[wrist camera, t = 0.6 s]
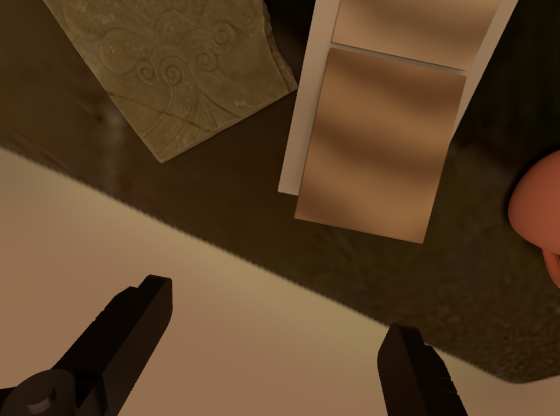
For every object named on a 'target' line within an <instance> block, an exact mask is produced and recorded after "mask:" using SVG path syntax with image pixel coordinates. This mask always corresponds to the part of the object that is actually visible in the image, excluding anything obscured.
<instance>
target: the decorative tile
mask: <svg viewBox="0 0 560 416" xmlns="http://www.w3.org/2000/svg"><path fill="white" fill-rule="evenodd" d="M43 1H44V2H45V4H46V5H47V7H48V8H49V9H50V11H51V12H52V14H53V15H54V17H55V18H56V20H57V21H58V23H59V24H60V26H61V27H62V29H63V30H64V32H65V33H66V35H67V36H68V38H69V39H70V41H71V42H72V44H73V45H74V47H75V48H76V50H77V51H78V52H79V54H80V55H81V57H82V58H83V59H84V61H85V62H86V64H87V65H88V66H89V68H90V69H91V71H92V72H93V73H94V75H95V76H96V78H97V79H98V80H99V82H100V83H101V85H102V86H103V87H104V89H105V90H106V91H107V93H108V95H109V97H110V98H111V99H112V101H113V102H114V103H115V105H116V106H117V108H118V109H119V110H120V111H121V113H122V114H123V115H124V117H125V118H126V119H127V121H128V122H129V123H130V125H131V126H132V127H133V129H134V130H135V132H136V133H137V134H138V136H139V137H140V138H141V139H142V141H143V142H144V143H145V145H146V146H147V147H148V148H149V150H150V151H151V152H152V154H153V155H154V156H155V158H156V159H157V160H158V161H159V162H160V163H164V162H166V161H168V160H169V159H172V158H173V157H175V156H177V155H179V154H181V153H183V152H185V151H187V150H188V149H190V148H192V147H194V146H196V145H198V144H200V143H202V142H204V141H205V140H207V139H209V138H210V137H212V136H214V135H216V134H217V133H219V132H221V131H222V130H224V129H226V128H228V127H230V126H232V125H234V124H236V123H238V122H240V121H241V120H243V119H245V118H247V117H249V116H250V115H252V114H254V113H256V112H257V111H259V110H261V109H263V108H264V107H266V106H268V105H270V104H272V103H273V102H275V101H277V100H279V99H281V98H282V97H284V96H286V95H287V94H289V93H291V92H293V91H294V90H296V89H297V88H298V85H297V82H296V80H295V77H294V74H293V73H292V70H291V68H290V66H289V65H288V64H287V62H286V61H285V59H284V58H283V57H282V55H281V54H280V53H279V52H278V48H277V46H276V44H275V38H274V36H273V33H272V28H271V22H270V19H271V17H270V14H269V12H268V10H267V5H266V4H265V3H264V0H43Z"/></svg>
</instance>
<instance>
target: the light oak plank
mask: <svg viewBox="0 0 560 416" xmlns="http://www.w3.org/2000/svg"><path fill="white" fill-rule="evenodd" d="M500 2H501V0H340V4H339V8H338V12H337V17H336V21H335V25H334V29H333V34H332V38H331V42H330V43H334V44H339V45H344V46H348V47H353V48H358V49H362V50H367V51H372V52H377V53H381V54H386V55H391V56H395V57H400V58H405V59H410V60H414V61H419V62H424V63H428V64H433V65H438V66H443V67H447V68H452V69H457V70H462V71H469V70H470V68H471V66H472V64H473V62H474V59H475V57H476V55H477V53H478V51H479V48H480V46H481V44H482V42H483V40H484V37H485V35H486V33H487V31H488V29H489V27H490V24H491V22H492V20H493V18H494V16H495V13H496V11H497V9H498V7H499V5H500Z"/></svg>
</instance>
